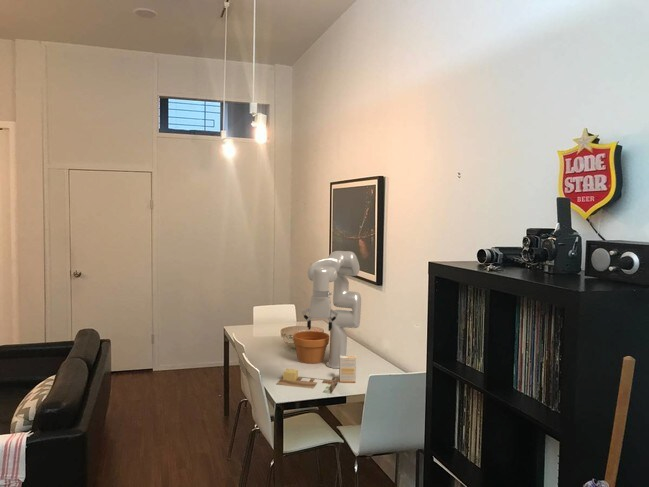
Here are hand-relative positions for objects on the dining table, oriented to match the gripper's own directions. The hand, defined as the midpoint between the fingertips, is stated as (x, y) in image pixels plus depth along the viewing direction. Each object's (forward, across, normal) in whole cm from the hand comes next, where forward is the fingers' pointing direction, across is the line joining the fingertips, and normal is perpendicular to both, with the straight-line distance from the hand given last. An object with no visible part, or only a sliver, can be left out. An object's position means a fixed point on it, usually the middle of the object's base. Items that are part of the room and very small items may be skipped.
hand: (319, 329), depth 244 cm
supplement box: (+30, -13, -18) cm, 38 cm away
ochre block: (+29, +15, -11) cm, 34 cm away
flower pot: (+30, +11, -50) cm, 60 cm away
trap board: (+30, +6, -7) cm, 32 cm away
